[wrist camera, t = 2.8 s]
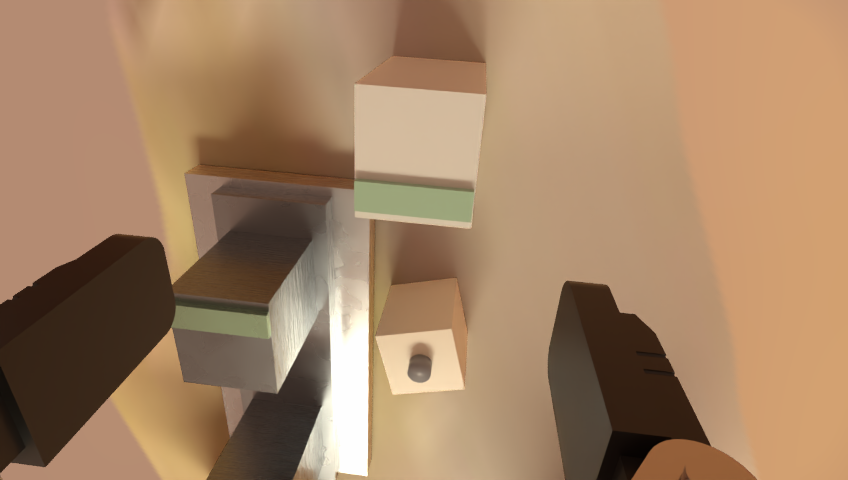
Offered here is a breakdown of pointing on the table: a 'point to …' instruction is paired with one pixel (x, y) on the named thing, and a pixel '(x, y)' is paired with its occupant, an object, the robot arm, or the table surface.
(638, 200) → the table surface
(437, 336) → the block
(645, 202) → the table surface
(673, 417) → the robot arm
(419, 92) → the block
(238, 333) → the board
